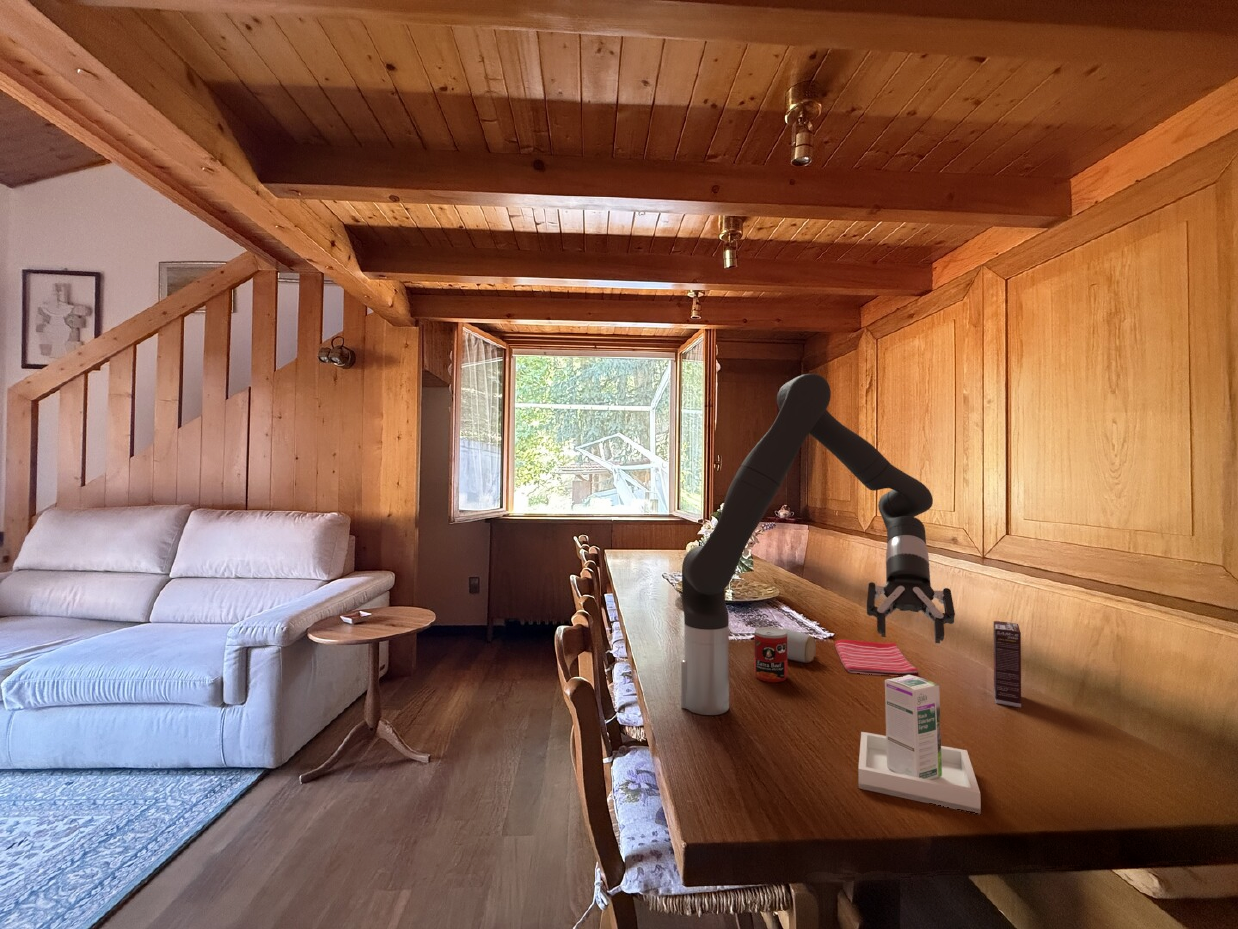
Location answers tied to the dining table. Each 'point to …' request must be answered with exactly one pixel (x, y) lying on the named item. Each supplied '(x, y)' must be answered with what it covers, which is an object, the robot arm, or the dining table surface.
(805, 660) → the ceramic mug
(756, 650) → the canned food
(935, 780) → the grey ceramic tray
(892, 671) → the dish towel
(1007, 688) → the supplement box
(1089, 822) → the dining table surface
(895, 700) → the syrup box
